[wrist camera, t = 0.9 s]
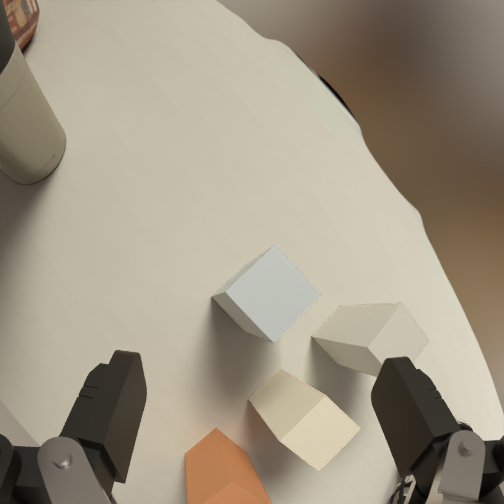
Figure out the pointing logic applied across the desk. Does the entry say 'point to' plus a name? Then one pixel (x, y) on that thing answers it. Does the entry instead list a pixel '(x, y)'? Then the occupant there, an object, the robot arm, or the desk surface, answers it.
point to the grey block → (370, 336)
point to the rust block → (221, 473)
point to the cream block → (303, 418)
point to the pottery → (22, 19)
